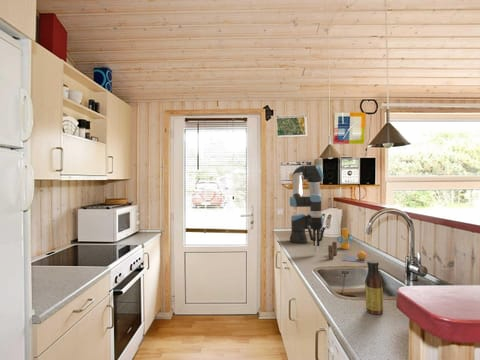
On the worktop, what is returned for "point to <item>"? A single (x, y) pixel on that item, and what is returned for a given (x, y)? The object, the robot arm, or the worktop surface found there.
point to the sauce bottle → (373, 289)
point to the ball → (361, 255)
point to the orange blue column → (345, 239)
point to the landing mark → (353, 259)
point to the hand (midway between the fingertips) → (316, 250)
